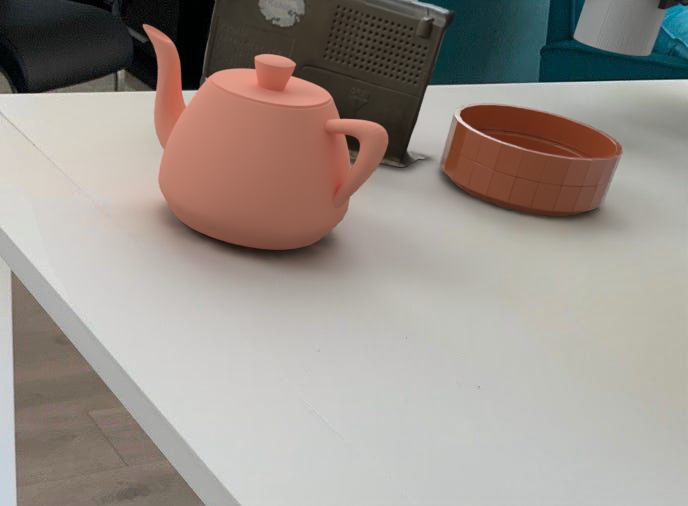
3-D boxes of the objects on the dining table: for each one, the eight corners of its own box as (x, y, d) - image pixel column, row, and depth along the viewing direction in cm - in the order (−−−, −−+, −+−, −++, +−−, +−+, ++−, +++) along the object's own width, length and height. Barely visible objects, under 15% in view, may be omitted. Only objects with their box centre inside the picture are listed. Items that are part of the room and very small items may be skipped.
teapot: (77, 199, 83) (86, 28, 75) (180, 162, 93) (198, 9, 85) (313, 291, 75) (352, 113, 67) (397, 241, 86) (439, 80, 78)
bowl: (615, 194, 105) (638, 137, 101) (577, 235, 93) (601, 172, 90) (467, 149, 109) (484, 93, 106) (414, 182, 98) (430, 121, 94)
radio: (427, 158, 105) (472, -9, 95) (411, 181, 98) (457, 4, 89) (214, 104, 108) (236, -62, 99) (186, 123, 102) (206, -53, 92)
